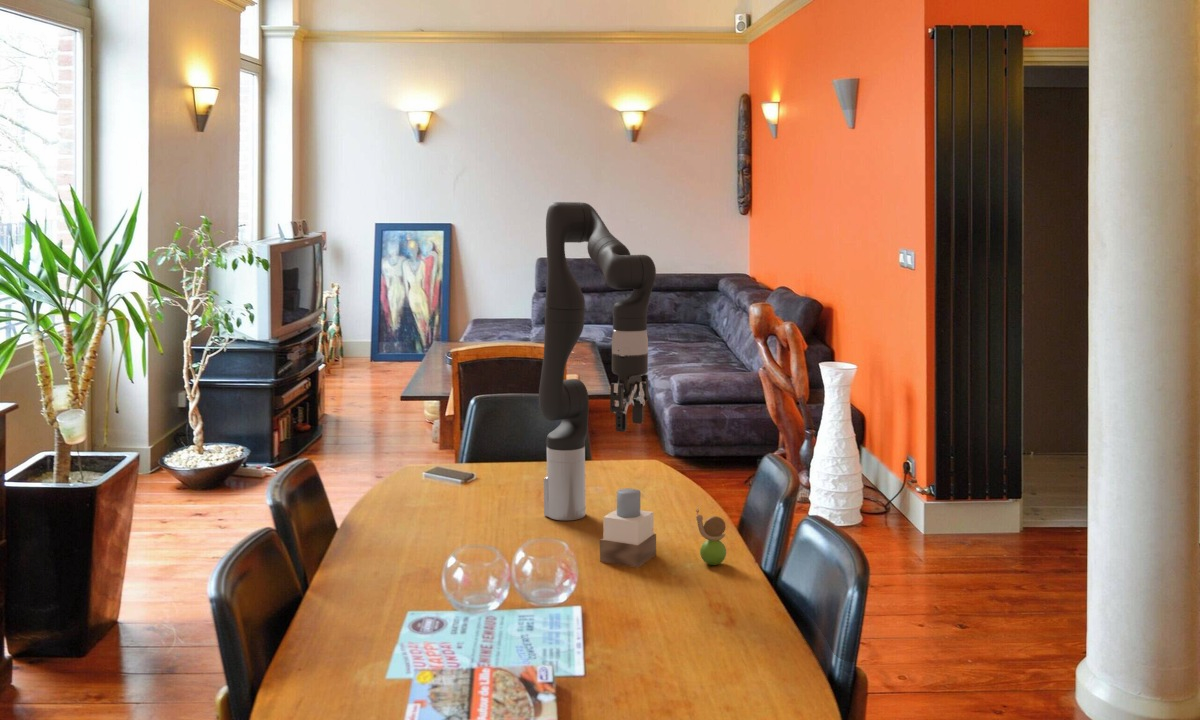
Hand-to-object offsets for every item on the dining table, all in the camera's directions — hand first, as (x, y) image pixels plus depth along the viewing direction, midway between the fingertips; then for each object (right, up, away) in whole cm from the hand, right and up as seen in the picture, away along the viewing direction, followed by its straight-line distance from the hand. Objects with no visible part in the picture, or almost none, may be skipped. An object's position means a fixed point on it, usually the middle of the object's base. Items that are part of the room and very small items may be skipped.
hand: (629, 427), depth 225 cm
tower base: (0, -29, +3) cm, 29 cm away
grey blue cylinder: (0, -19, +2) cm, 19 cm away
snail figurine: (+17, -29, -1) cm, 34 cm away
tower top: (0, -24, +3) cm, 24 cm away
